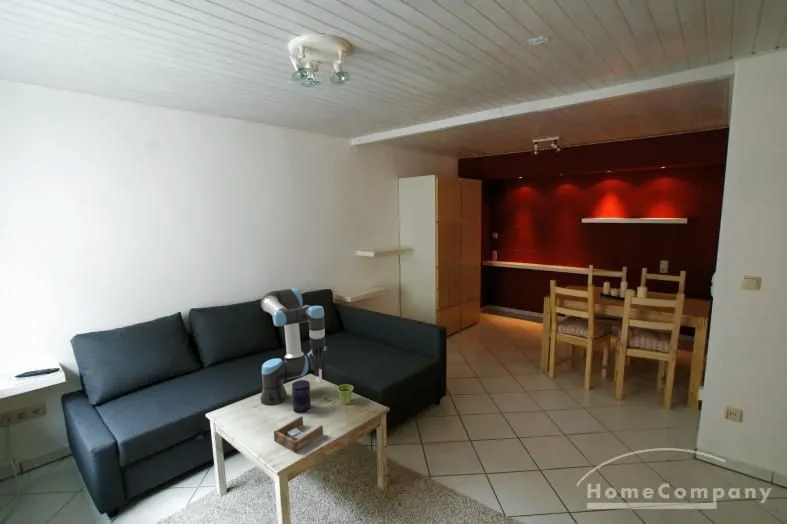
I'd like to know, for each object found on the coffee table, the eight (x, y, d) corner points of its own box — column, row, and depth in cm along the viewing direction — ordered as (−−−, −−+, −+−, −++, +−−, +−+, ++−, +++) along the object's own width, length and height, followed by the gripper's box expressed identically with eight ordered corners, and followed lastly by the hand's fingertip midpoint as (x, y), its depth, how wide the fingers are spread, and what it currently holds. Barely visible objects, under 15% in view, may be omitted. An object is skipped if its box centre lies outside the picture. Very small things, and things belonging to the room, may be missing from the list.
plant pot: (355, 398, 223) (354, 384, 221) (351, 406, 213) (351, 391, 212) (339, 397, 223) (339, 384, 222) (335, 405, 214) (335, 391, 213)
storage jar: (302, 415, 204) (301, 389, 203) (289, 410, 209) (287, 385, 207) (314, 406, 213) (313, 382, 211) (301, 403, 218) (300, 378, 216)
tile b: (294, 442, 180) (294, 436, 180) (302, 437, 184) (302, 431, 184) (302, 446, 177) (301, 440, 177) (309, 440, 181) (309, 435, 181)
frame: (274, 441, 181) (273, 431, 181) (301, 425, 195) (301, 416, 194) (295, 453, 172) (295, 442, 171) (323, 435, 185) (322, 425, 185)
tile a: (287, 437, 185) (286, 431, 184) (296, 433, 188) (296, 427, 187) (291, 441, 181) (291, 436, 180) (301, 437, 184) (300, 432, 184)
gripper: (312, 341, 180) (314, 388, 183) (331, 334, 191) (333, 378, 193) (302, 339, 184) (304, 384, 187) (321, 332, 195) (323, 375, 198)
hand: (319, 381), depth 190 cm, fingers closed
